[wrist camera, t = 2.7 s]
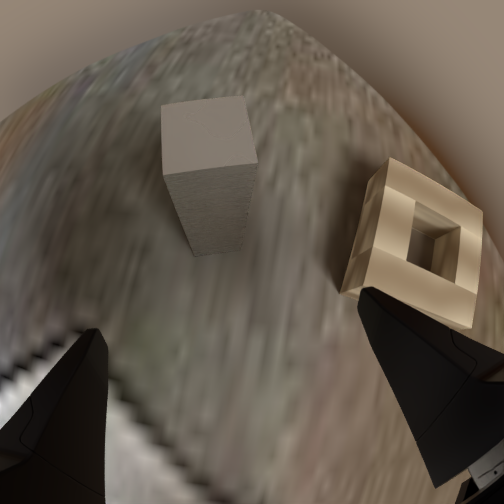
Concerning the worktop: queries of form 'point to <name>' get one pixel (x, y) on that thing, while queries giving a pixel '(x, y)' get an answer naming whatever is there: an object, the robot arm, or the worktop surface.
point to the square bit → (209, 170)
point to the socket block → (417, 245)
